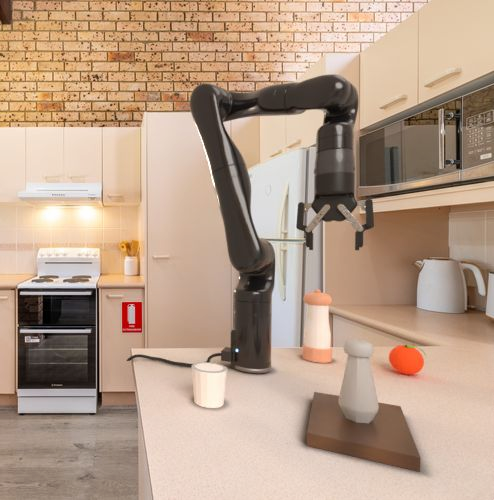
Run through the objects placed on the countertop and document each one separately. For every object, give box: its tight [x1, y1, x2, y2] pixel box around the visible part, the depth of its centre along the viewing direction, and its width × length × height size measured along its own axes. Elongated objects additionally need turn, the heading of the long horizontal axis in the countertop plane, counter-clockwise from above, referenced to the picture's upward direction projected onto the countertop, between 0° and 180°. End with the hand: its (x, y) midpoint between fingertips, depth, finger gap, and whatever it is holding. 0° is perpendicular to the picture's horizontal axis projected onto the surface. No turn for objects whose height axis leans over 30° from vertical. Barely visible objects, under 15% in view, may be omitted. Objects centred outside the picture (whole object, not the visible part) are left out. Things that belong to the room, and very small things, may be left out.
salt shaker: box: [338, 338, 379, 423], centre depth 65 cm, size 6×6×13 cm
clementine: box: [388, 344, 427, 376], centre depth 95 cm, size 8×7×7 cm
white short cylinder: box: [191, 361, 228, 409], centre depth 77 cm, size 7×7×7 cm
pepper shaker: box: [301, 289, 333, 364], centre depth 108 cm, size 7×7×19 cm
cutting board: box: [306, 391, 421, 472], centre depth 65 cm, size 14×20×2 cm
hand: (333, 250), depth 83 cm, fingers open, 8 cm apart
